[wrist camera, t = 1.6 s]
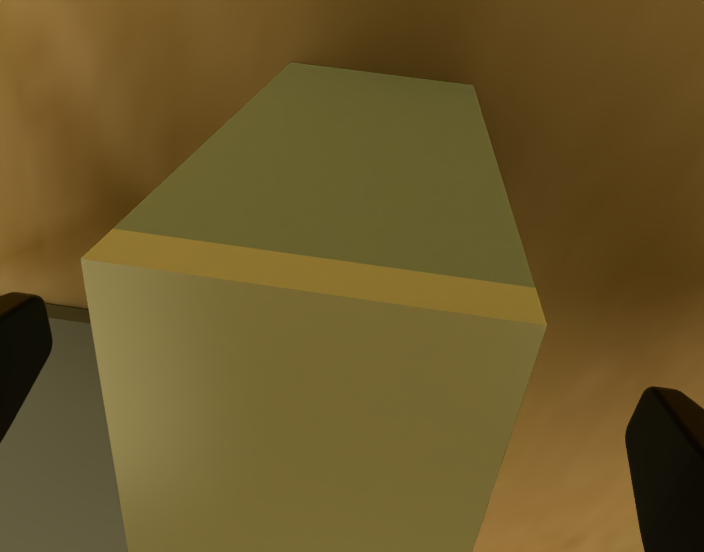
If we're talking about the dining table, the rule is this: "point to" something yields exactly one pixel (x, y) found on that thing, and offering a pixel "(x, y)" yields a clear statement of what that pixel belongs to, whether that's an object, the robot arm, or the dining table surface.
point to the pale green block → (317, 325)
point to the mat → (61, 454)
